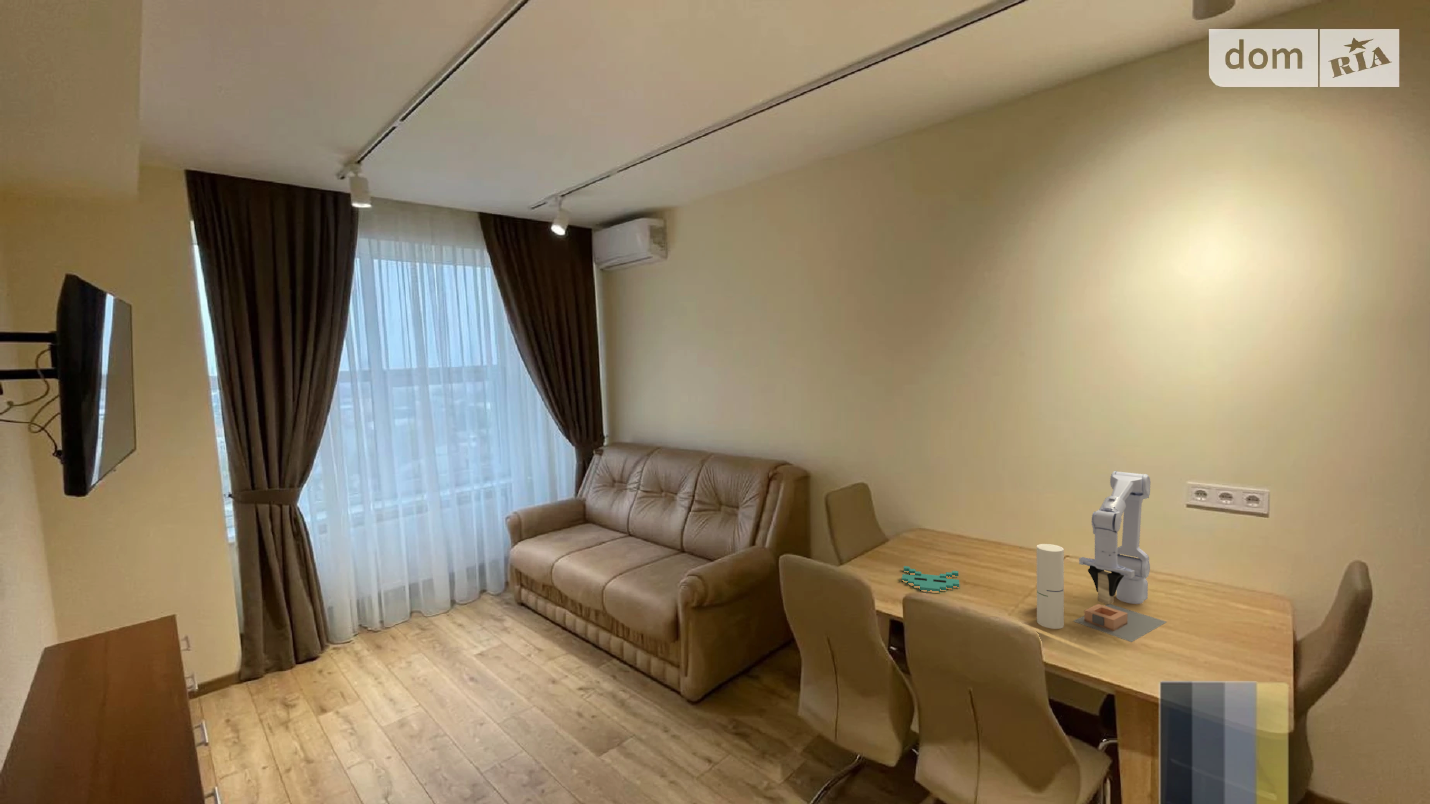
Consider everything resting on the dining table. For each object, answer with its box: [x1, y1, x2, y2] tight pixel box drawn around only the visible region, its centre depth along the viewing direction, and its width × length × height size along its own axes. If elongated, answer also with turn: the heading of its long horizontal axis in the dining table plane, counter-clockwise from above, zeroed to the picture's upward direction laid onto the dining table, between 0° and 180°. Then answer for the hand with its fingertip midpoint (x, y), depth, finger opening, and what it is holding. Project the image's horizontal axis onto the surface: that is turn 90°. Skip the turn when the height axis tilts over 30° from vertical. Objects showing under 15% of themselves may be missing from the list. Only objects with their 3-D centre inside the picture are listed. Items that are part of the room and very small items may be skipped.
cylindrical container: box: [1036, 543, 1065, 630], centre depth 172 cm, size 7×7×25 cm
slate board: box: [1073, 603, 1167, 643], centre depth 172 cm, size 22×16×1 cm
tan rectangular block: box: [1097, 570, 1115, 605], centre depth 171 cm, size 3×3×9 cm
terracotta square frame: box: [1083, 603, 1128, 631], centre depth 172 cm, size 9×8×3 cm
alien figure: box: [901, 565, 960, 592], centre depth 211 cm, size 20×2×20 cm
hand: (1105, 593), depth 171 cm, fingers closed on tan rectangular block, 3 cm apart
